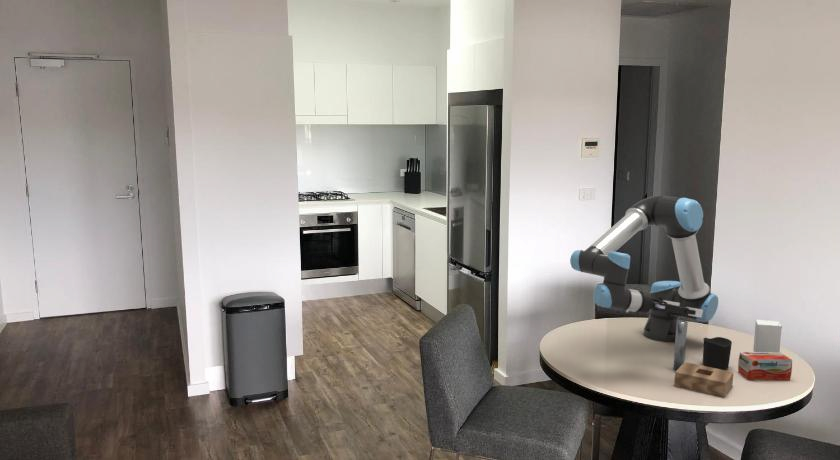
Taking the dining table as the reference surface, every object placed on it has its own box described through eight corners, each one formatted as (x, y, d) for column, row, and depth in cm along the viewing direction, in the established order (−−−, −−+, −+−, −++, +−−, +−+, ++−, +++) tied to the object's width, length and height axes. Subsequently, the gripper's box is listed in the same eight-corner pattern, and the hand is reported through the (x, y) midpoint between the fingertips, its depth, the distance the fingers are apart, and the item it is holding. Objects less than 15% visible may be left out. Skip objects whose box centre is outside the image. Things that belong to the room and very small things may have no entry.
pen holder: (727, 373, 245) (729, 346, 243) (699, 367, 250) (701, 341, 248) (731, 365, 253) (733, 339, 251) (704, 360, 257) (706, 334, 256)
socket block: (674, 385, 232) (675, 371, 231) (683, 375, 242) (684, 361, 241) (724, 397, 223) (725, 383, 222) (732, 386, 233) (733, 372, 232)
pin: (671, 370, 247) (675, 322, 244) (674, 367, 250) (678, 319, 247) (682, 372, 245) (686, 323, 242) (684, 369, 247) (688, 321, 244)
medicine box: (778, 372, 246) (780, 351, 245) (791, 381, 238) (793, 359, 237) (737, 372, 246) (739, 351, 245) (748, 381, 238) (750, 359, 237)
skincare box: (775, 360, 258) (780, 321, 255) (778, 366, 252) (783, 326, 249) (751, 358, 260) (755, 318, 258) (753, 363, 254) (757, 323, 252)
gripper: (616, 305, 250) (667, 313, 255) (654, 319, 226) (710, 327, 231) (620, 285, 250) (671, 293, 255) (659, 296, 226) (714, 305, 230)
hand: (689, 309), depth 243 cm, fingers open, 13 cm apart
